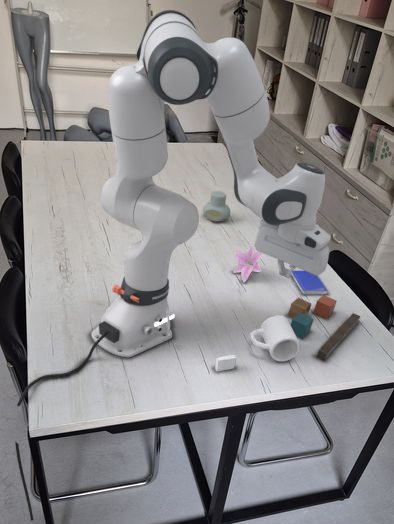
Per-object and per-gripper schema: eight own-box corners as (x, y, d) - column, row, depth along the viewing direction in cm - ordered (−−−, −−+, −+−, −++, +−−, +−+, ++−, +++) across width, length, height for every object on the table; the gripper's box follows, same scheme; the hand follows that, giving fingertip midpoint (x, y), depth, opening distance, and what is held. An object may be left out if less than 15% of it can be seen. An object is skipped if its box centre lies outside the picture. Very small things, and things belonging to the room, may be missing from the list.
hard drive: (328, 290, 156) (314, 270, 165) (304, 290, 154) (291, 270, 164) (326, 294, 157) (313, 274, 166) (302, 294, 155) (290, 274, 165)
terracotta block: (326, 319, 146) (330, 306, 143) (313, 312, 148) (316, 300, 145) (332, 312, 149) (336, 300, 146) (319, 306, 151) (323, 294, 148)
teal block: (302, 338, 137) (306, 325, 134) (288, 331, 139) (292, 319, 136) (309, 331, 140) (313, 318, 137) (295, 325, 142) (299, 312, 139)
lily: (231, 265, 167) (226, 247, 159) (265, 255, 166) (261, 236, 158) (238, 292, 161) (233, 275, 153) (273, 282, 160) (269, 264, 151)
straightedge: (324, 361, 130) (326, 354, 129) (316, 357, 131) (318, 350, 130) (358, 322, 146) (360, 316, 145) (350, 319, 147) (353, 312, 146)
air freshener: (199, 219, 191) (202, 194, 185) (205, 211, 197) (208, 187, 191) (226, 225, 189) (230, 200, 183) (231, 217, 195) (235, 193, 189)
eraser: (234, 368, 124) (236, 357, 122) (216, 371, 123) (218, 360, 120) (232, 365, 125) (234, 354, 123) (214, 368, 124) (216, 357, 121)
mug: (285, 338, 137) (291, 314, 131) (296, 361, 129) (303, 337, 124) (244, 339, 134) (248, 315, 129) (253, 363, 127) (258, 339, 122)
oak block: (301, 322, 143) (304, 309, 141) (287, 315, 145) (291, 303, 142) (308, 315, 146) (311, 303, 143) (294, 309, 148) (298, 297, 145)
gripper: (255, 219, 127) (246, 265, 136) (326, 246, 119) (312, 294, 127) (267, 212, 131) (258, 257, 140) (336, 238, 123) (322, 285, 132)
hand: (284, 275), depth 134 cm, fingers closed
